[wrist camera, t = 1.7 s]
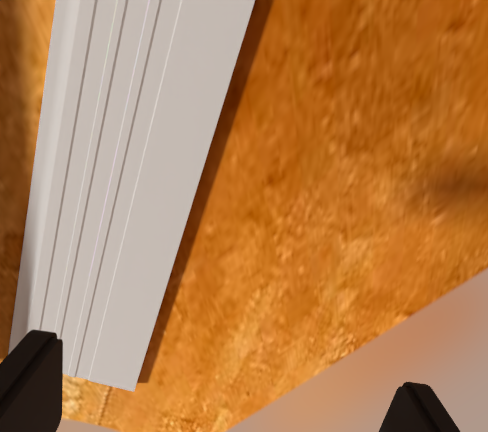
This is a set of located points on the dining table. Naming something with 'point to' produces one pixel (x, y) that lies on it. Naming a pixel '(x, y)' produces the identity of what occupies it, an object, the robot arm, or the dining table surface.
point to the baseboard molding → (119, 170)
